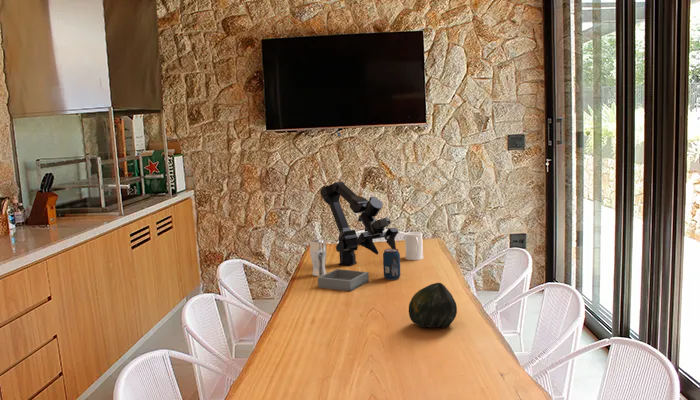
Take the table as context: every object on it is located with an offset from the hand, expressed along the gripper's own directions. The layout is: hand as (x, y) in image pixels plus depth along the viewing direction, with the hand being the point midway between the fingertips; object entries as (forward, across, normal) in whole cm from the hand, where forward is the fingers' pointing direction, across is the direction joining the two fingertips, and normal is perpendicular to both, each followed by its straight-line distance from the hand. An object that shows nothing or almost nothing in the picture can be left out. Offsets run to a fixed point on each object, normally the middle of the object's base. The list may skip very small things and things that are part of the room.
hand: (386, 252), depth 258 cm
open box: (+6, -21, +9) cm, 23 cm away
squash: (+49, -25, -33) cm, 64 cm away
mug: (-5, +29, +20) cm, 35 cm away
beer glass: (-9, -20, +24) cm, 32 cm away
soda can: (+10, 0, +5) cm, 11 cm away
